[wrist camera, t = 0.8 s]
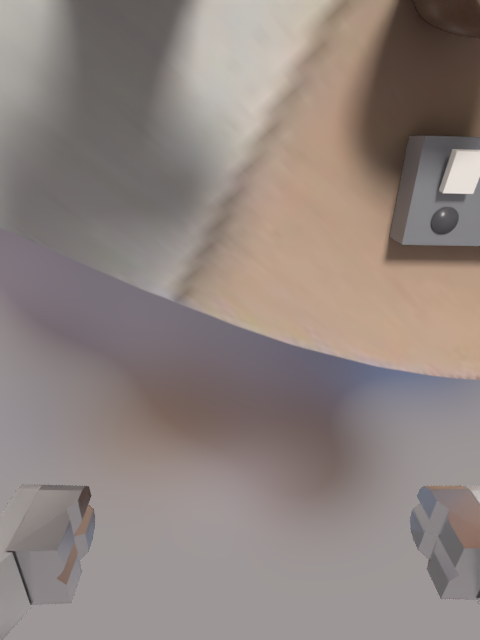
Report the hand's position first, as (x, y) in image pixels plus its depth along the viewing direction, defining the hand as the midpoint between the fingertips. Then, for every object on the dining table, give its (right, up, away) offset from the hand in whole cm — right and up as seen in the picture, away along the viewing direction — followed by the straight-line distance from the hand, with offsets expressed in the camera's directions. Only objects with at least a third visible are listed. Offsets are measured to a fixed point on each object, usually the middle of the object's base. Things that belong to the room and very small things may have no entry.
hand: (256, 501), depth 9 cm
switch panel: (+30, +21, +38) cm, 53 cm away
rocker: (+24, +21, +32) cm, 45 cm away
